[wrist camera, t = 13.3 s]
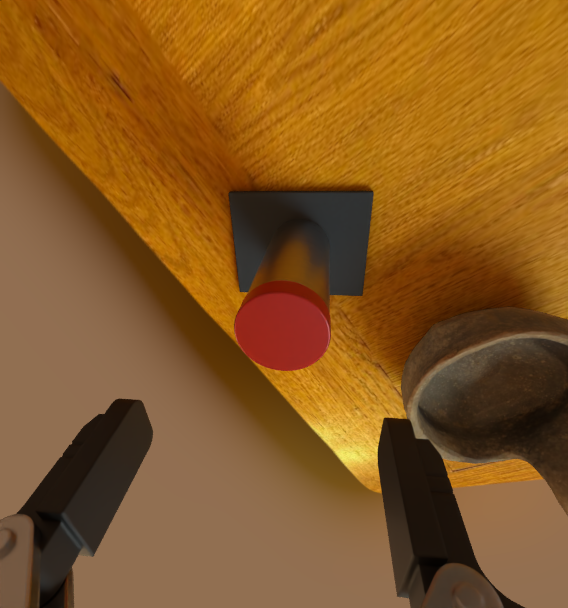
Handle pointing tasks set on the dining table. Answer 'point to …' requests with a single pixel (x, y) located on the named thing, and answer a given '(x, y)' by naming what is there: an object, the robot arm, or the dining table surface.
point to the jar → (288, 300)
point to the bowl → (494, 390)
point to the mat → (310, 206)
